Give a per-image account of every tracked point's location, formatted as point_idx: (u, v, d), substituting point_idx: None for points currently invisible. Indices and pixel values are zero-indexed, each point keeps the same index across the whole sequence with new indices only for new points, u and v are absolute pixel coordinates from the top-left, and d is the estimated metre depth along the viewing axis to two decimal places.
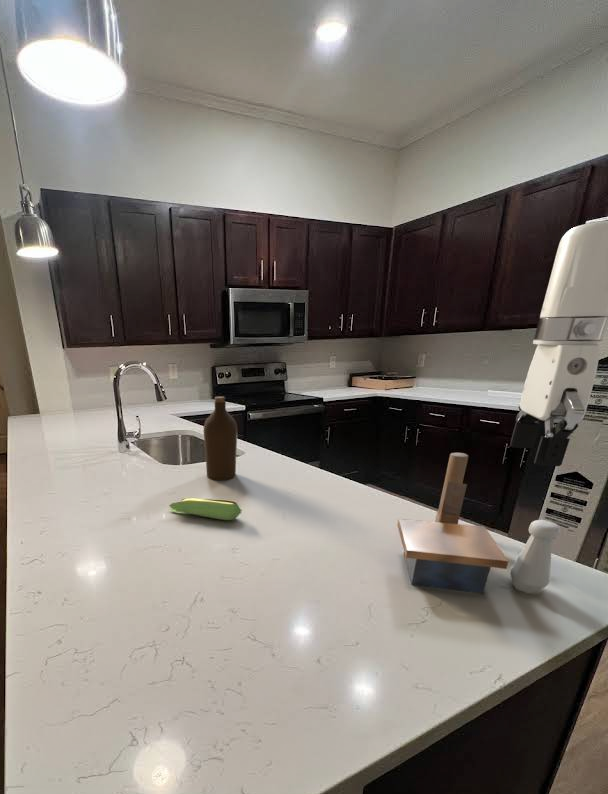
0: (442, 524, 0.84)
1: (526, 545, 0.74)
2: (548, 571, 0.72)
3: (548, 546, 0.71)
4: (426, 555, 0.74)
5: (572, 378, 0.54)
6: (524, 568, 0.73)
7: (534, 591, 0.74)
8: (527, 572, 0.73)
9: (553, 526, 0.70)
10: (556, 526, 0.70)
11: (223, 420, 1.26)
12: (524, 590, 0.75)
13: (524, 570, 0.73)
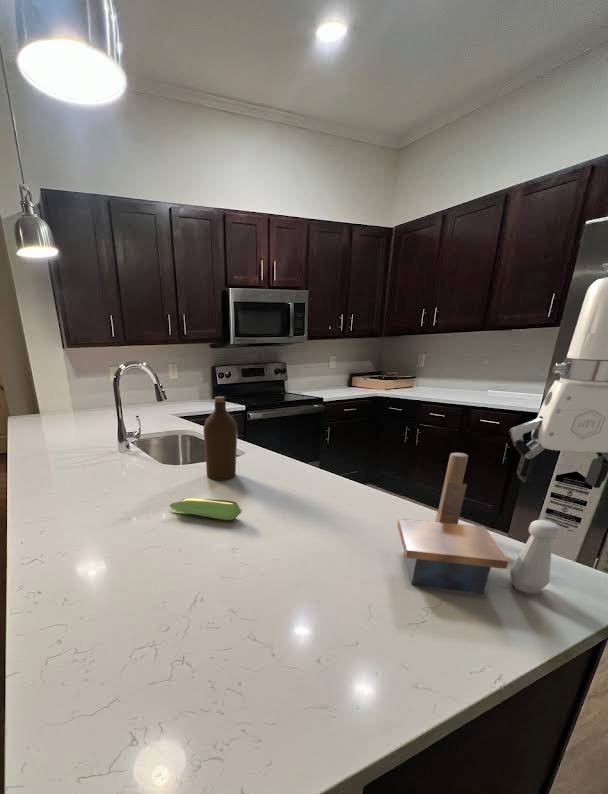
0: (442, 524, 0.84)
1: (526, 545, 0.74)
2: (548, 571, 0.72)
3: (548, 546, 0.71)
4: (426, 555, 0.74)
5: (543, 408, 0.65)
6: (524, 568, 0.73)
7: (534, 591, 0.74)
8: (527, 572, 0.73)
9: (553, 526, 0.70)
10: (556, 526, 0.70)
11: (223, 420, 1.26)
12: (524, 590, 0.75)
13: (524, 570, 0.73)
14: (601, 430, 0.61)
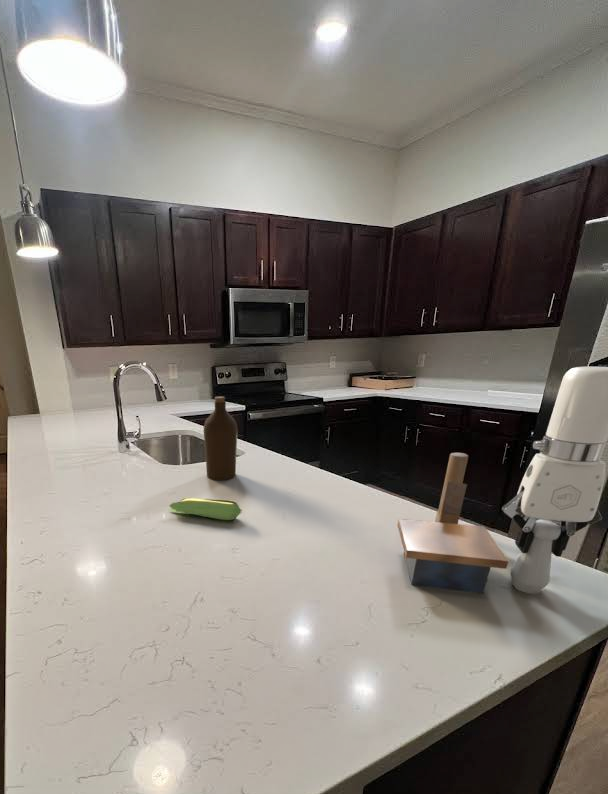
0: (442, 524, 0.84)
1: None
2: (548, 571, 0.72)
3: (548, 546, 0.71)
4: (426, 555, 0.74)
5: (525, 479, 0.69)
6: (525, 568, 0.73)
7: (534, 591, 0.74)
8: (527, 571, 0.73)
9: (553, 526, 0.70)
10: (556, 526, 0.70)
11: (223, 420, 1.26)
12: (524, 590, 0.75)
13: (524, 570, 0.73)
14: (578, 503, 0.66)
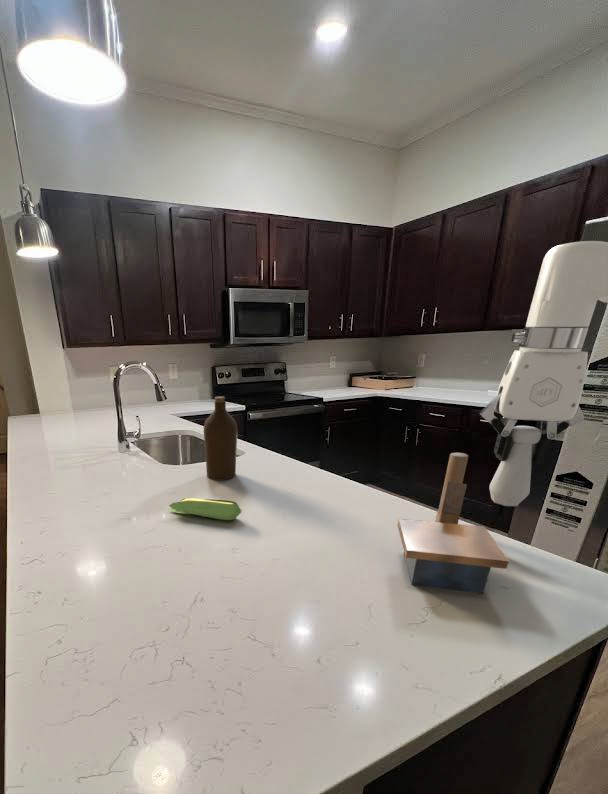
0: (442, 524, 0.84)
1: None
2: (528, 480, 0.69)
3: (528, 452, 0.67)
4: (426, 555, 0.74)
5: (504, 378, 0.65)
6: (503, 477, 0.69)
7: (513, 503, 0.70)
8: (506, 481, 0.69)
9: (533, 429, 0.66)
10: (537, 429, 0.66)
11: (223, 420, 1.26)
12: (503, 503, 0.71)
13: (503, 480, 0.70)
14: (559, 398, 0.62)
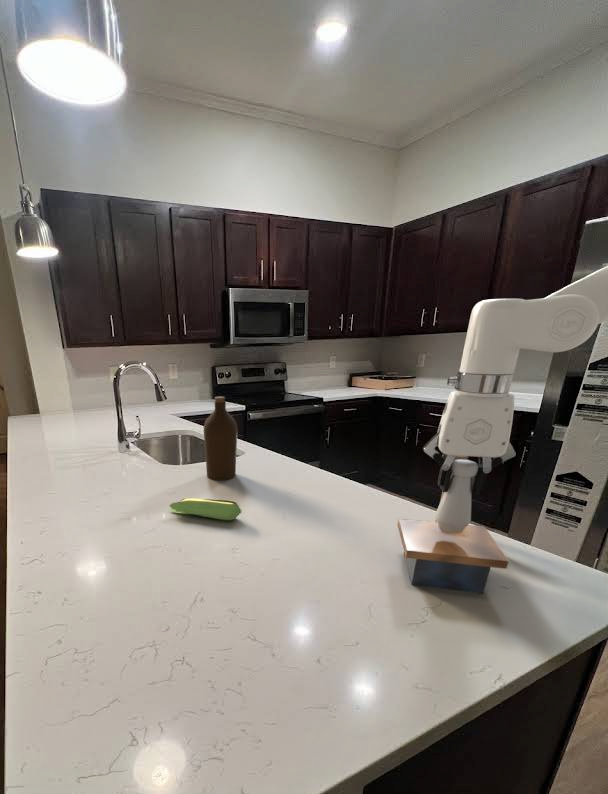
0: None
1: None
2: (468, 509, 0.74)
3: (467, 484, 0.72)
4: (426, 555, 0.74)
5: (442, 417, 0.71)
6: (446, 507, 0.75)
7: (456, 530, 0.75)
8: (448, 510, 0.74)
9: (470, 463, 0.71)
10: (473, 463, 0.71)
11: (223, 420, 1.26)
12: (447, 530, 0.76)
13: (446, 510, 0.75)
14: (490, 437, 0.67)
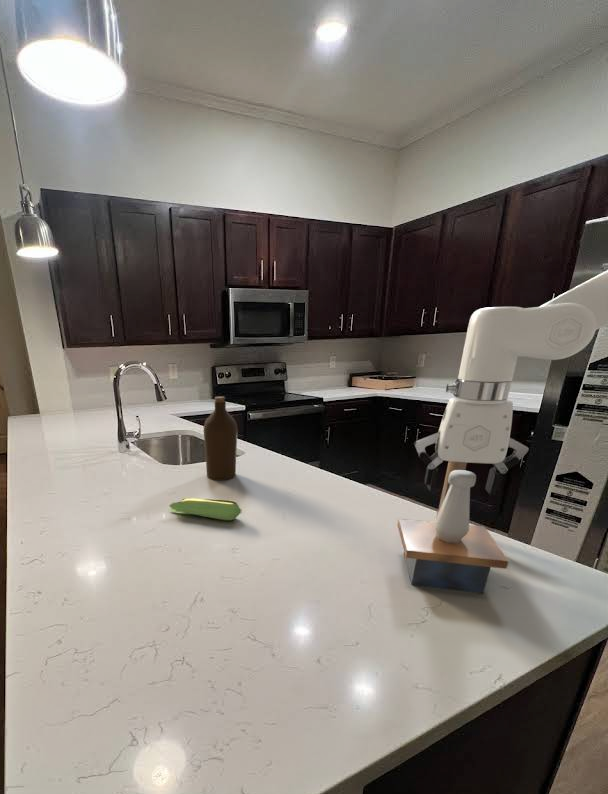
0: None
1: (446, 495, 0.76)
2: (466, 519, 0.75)
3: (465, 494, 0.73)
4: (426, 555, 0.74)
5: (441, 423, 0.71)
6: (444, 517, 0.75)
7: (454, 540, 0.76)
8: (447, 520, 0.75)
9: (468, 474, 0.72)
10: (471, 474, 0.72)
11: (223, 420, 1.26)
12: (445, 539, 0.77)
13: (444, 519, 0.76)
14: (489, 443, 0.68)
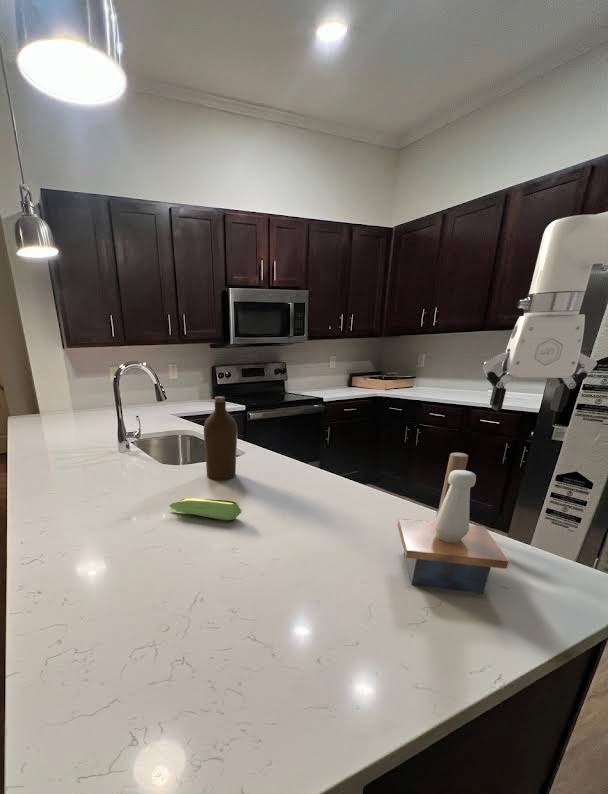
0: None
1: (446, 495, 0.76)
2: (466, 519, 0.75)
3: (465, 494, 0.73)
4: (426, 555, 0.74)
5: (510, 341, 0.73)
6: (444, 517, 0.75)
7: (454, 540, 0.76)
8: (447, 520, 0.75)
9: (468, 474, 0.72)
10: (471, 474, 0.72)
11: (223, 420, 1.26)
12: (445, 539, 0.77)
13: (444, 519, 0.76)
14: (560, 357, 0.70)
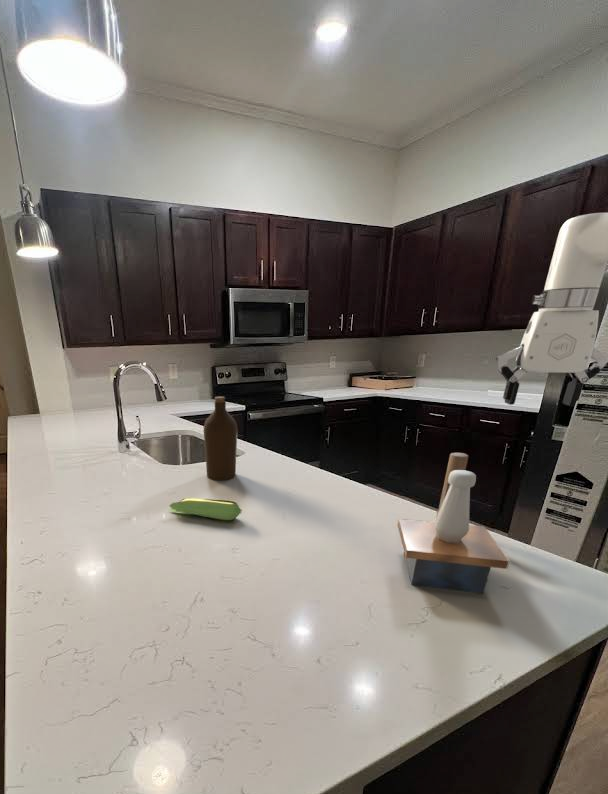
0: None
1: (446, 495, 0.76)
2: (466, 519, 0.75)
3: (465, 494, 0.73)
4: (426, 555, 0.74)
5: (525, 336, 0.75)
6: (444, 517, 0.75)
7: (454, 540, 0.76)
8: (447, 520, 0.75)
9: (468, 474, 0.72)
10: (471, 474, 0.72)
11: (223, 420, 1.26)
12: (445, 539, 0.77)
13: (444, 519, 0.76)
14: (573, 352, 0.72)
